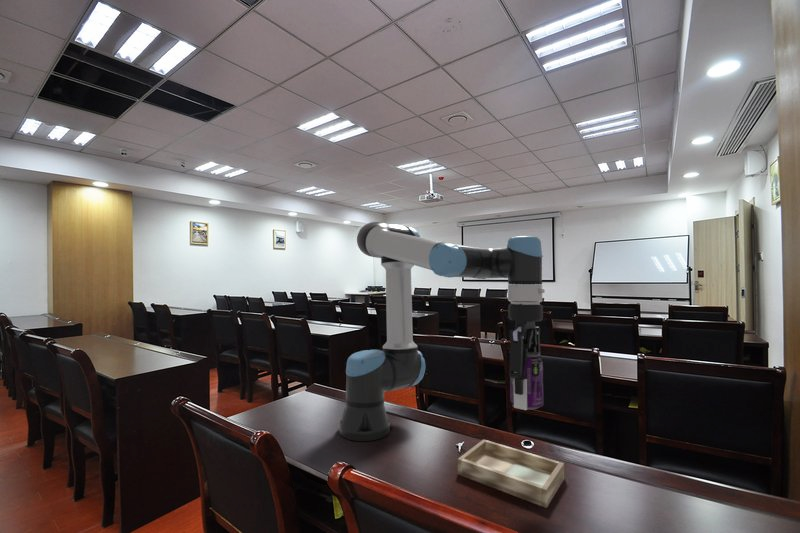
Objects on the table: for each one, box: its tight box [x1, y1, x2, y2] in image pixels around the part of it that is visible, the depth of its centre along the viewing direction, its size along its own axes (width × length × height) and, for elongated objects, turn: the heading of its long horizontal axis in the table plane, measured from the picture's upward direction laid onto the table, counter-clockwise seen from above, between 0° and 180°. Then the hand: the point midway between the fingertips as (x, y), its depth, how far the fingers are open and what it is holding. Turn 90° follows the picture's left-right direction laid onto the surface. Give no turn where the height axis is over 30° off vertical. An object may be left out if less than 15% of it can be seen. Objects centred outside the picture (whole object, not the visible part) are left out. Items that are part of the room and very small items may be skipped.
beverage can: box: [509, 352, 544, 411], centre depth 81 cm, size 7×7×12 cm
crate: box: [457, 439, 565, 509], centre depth 82 cm, size 20×14×4 cm
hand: (526, 403), depth 81 cm, fingers closed on beverage can, 7 cm apart
